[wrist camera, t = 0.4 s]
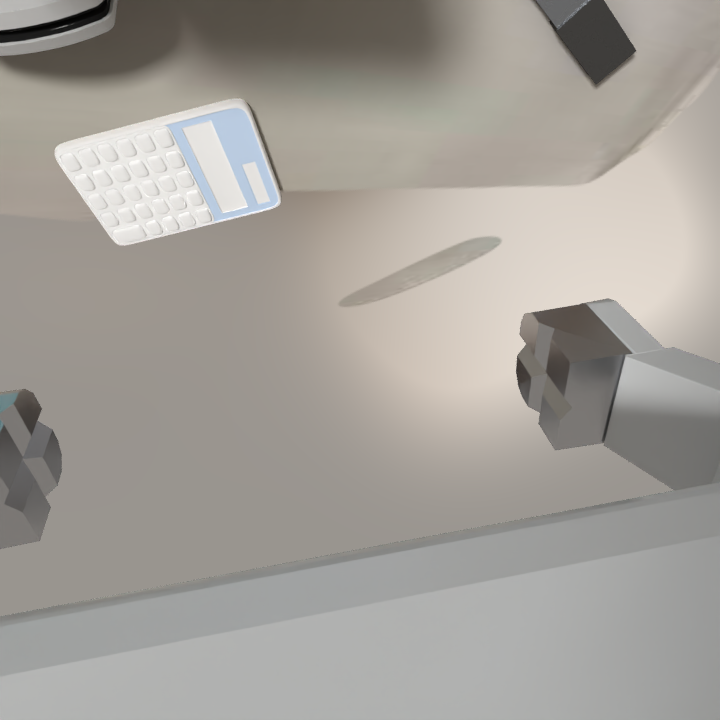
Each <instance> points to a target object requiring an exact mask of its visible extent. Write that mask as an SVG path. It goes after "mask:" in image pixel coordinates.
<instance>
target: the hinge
mask: <svg viewBox="0 0 720 720" xmlns="http://www.w3.org/2000/svg"><path fill="white" fill-rule="evenodd" d="M117 2H118V0H0V56H7V55H19V54H27V53H35V52H40V51H46V50H51V49H55V48H60V47H64V46H68V45H71V44H75V43H78V42H81V41H84V40H87V39H90V38H93V37H96V36H98V35H100V34H103V33H105V32H108V31H109V30H111V29H112V28H113V26H114V24H115V19H116V10H117Z"/></svg>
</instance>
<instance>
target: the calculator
mask: <svg viewBox="0 0 720 720" xmlns="http://www.w3.org/2000/svg"><path fill="white" fill-rule="evenodd" d="M55 157H56V160H57V162H58V163H59V165H60V167H61V168H62V169H63V171H64V172H65V174H66V175H67V177H68V178H69V179H70V181H71V182H72V184H73V185H74V186H75V188H76V189H77V191H78V192H79V194H80V195H81V196H82V198H83V199H84V201H85V202H86V203H87V205H88V206H89V208H90V209H91V210H92V212H93V213H94V215H95V216H96V218H97V219H98V220H99V222H100V223H101V225H102V226H103V227H104V229H105V230H106V231H107V233H108V234H109V236H110V237H111V238H112V240H113V241H114V242H115V243H117V244H118V245H122V246H124V245H130V244H135V243H139V242H143V241H147V240H151V239H155V238H159V237H163V236H167V235H171V234H175V233H179V232H183V231H188V230H191V229H196V228H199V227H203V226H208V225H211V224H216V223H220V222H224V221H228V220H231V219H236V218H240V217H244V216H247V215H252V214H256V213H260V212H264V211H267V210H271V209H274V208H276V207H278V206H279V205H280V203H281V201H282V199H281V192H280V189H279V186H278V184H277V181H276V178H275V175H274V172H273V170H272V167H271V164H270V161H269V159H268V156H267V153H266V150H265V148H264V145H263V142H262V139H261V137H260V134H259V131H258V128H257V125H256V123H255V120H254V117H253V115H252V112H251V110H250V107H249V105H248V104H247V102H246V101H244V100H243V99H239V98H237V99H229V100H224V101H221V102H217V103H213V104H209V105H205V106H201V107H197V108H194V109H190V110H186V111H182V112H178V113H174V114H171V115H167V116H163V117H159V118H155V119H152V120H148V121H144V122H140V123H136V124H132V125H129V126H125V127H121V128H117V129H113V130H109V131H106V132H102V133H98V134H94V135H90V136H86V137H83V138H79V139H75V140H71V141H68V142H65V143H62V144H60V145H58V146H57V147H56V149H55ZM92 172H93V174H92ZM148 173H149V174H148ZM74 178H75V179H74ZM100 215H101V216H100Z"/></svg>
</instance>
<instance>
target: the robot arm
mask: <svg viewBox="0 0 720 720" xmlns="http://www.w3.org/2000/svg"><path fill="white" fill-rule="evenodd" d="M520 336H521V337H522V339H523V340H524V342H525V343H526V345H525V347H524V348H523V349H522V350H521V352H520V353H519V354H518V356H517V367H516V374H517V380H518V386H519V389H520V392H521V395H522V397H523V399H524V400H525V402H526V404H527V405H528V407H530V408H532V409H534V410H536V411H538V412H540V416H539V425H540V427H541V428H542V430H543V432H544V433H545V435H546V436H547V438H548V440H549V441H550V443H551V444H552V446H553V447H554V449H555V450H560V449H567V448H573V447H580V446H587V445H594V444H600V443H604V446H606V447H607V448H609V449H610V450H612V451H613V452H615V453H617V454H618V455H620V456H621V457H623V458H624V459H626V460H628V461H629V462H631V463H632V464H634V465H636V466H637V467H639V468H640V469H642V470H643V471H645V472H646V473H648V474H650V475H651V476H653V477H654V478H656V479H657V480H659V481H661V482H662V483H664V484H665V485H667V486H668V487H670V488H672V489H673V490H674V491H669V492H664V493H658V494H653V495H648V496H643V497H638V498H632V499H627V500H622V501H617V502H611V503H606V504H601V505H596V506H591V507H585V508H580V509H575V510H569V511H564V512H558V513H552V514H547V515H542V516H536V517H531V518H526V519H520V520H515V521H509V522H505V523H498V524H493V525H487V526H482V527H477V528H471V529H466V530H460V531H455V532H450V533H444V534H439V535H433V536H428V537H423V538H417V539H412V540H406V541H401V542H395V543H390V544H385V545H379V546H374V547H369V548H363V549H359V550H353V551H347V552H342V553H337V554H332V555H326V556H321V557H316V558H310V559H305V560H300V561H294V562H289V563H283V564H278V565H273V566H267V567H262V568H257V569H252V570H246V571H241V572H235V573H230V574H225V575H220V576H214V577H209V578H203V579H199V580H193V581H187V582H182V583H177V584H171V585H166V586H161V587H156V588H151V589H145V590H140V591H134V592H128V593H124V594H118V595H112V596H107V597H102V598H96V599H91V600H86V601H81V602H75V603H70V604H64V605H59V606H54V607H48V608H43V609H37V610H32V611H27V612H21V613H17V614H11V615H5V616H1V617H0V720H720V363H717V362H714V361H712V360H709V359H706V358H703V357H700V356H697V355H694V354H691V353H689V352H686V351H683V350H680V349H677V348H674V347H672V348H666V349H665V348H664V347H662V345H661V344H660V343H659V342H658V341H657V340H656V339H654V338H653V337H652V336H651V335H650V334H649V333H648V332H647V331H646V330H645V329H644V328H643V327H642V326H641V325H640V324H639V323H638V322H637V321H636V320H635V319H634V318H633V317H632V316H631V315H630V314H629V313H628V312H627V311H626V310H625V309H623V308H622V307H621V306H620V305H619V304H618V303H617V302H616V301H614V300H611V299H603V300H598V301H593V302H587V303H582V304H580V305H574V306H568V307H562V308H556V309H550V310H544V311H539V312H532V313H526V314H524V316H523V319H522V321H521V327H520ZM41 410H42V408H41V406H40V404H39V403H38V401H37V399H36V397H35V395H34V394H33V393H32V392H30V391H28V390H26V389H22V390H13V391H6V392H0V549H1V548H7V547H12V546H17V545H22V544H27V543H32V542H36V541H40V539H41V536H42V533H43V529H44V526H45V523H46V520H47V517H48V514H49V511H50V508H51V507H50V505H49V503H48V501H47V499H46V498H45V497H46V496H47V495H48V494H49V493H50V492H51V491H52V490H53V489H54V488H55V487H56V486H58V482H59V479H60V475H61V472H62V460H61V459H62V458H61V457H62V454H61V450H60V447H59V443H58V440H57V438H56V436H55V434H54V432H53V430H52V429H51V428H49V427H47V426H46V425H44V424H42V423H40V422H39V421H37V420H38V418H39V415H40V412H41Z"/></svg>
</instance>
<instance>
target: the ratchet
mask: <svg viewBox="0 0 720 720" xmlns="http://www.w3.org/2000/svg"><path fill="white" fill-rule="evenodd" d="M536 1H537V2H538V4H539V5H540V6H541V8H542V9H543V10H544V12H545V13H546V14H547V16H548V17H549V18H550V20H551V21H550V24H551V25H552V26H553V28H554V29H555V31H556V32H557V33H558V35H559V36H560V37H561V39H562V40H563V41H564V43H565V44H566V45H567V47H568V48H569V49H570V51H571V52H572V53H573V55H574V56H575V57H576V59H577V60H578V61H579V63H580V64H581V65H582V67H583V68H584V69H585V71H586V72H587V73H588V75H589V76H590V77H591V79H592V80H593V81H594V83H595V84H597V83H598V82H600V81H601V80H602V79H603V78H604V77H606V76H607V75H608V74H609V73H610V72H612V71H613V70H614V69H615V68H616V67H618V66H619V65H620V64H621V63H622V62H624V61H625V60H626V59H627V58H628V57H630V56H631V55H632V54H633V53H634V52H636V50H635V48H634V46H633V45H632V43H631V42H630V40H629V39H628V37H627V36H626V34H625V32H624V31H623V29H622V28H621V26H620V25H619V23H618V22H617V20H616V18H615V17H614V15H613V14H612V12H611V11H610V9H609V8H608V6H607V4H606V3H605V1H604V0H536Z"/></svg>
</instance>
